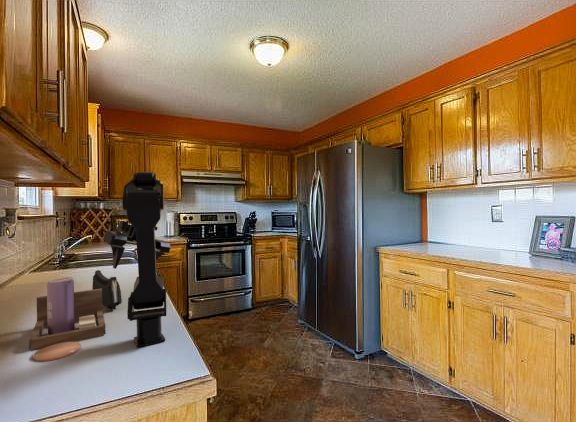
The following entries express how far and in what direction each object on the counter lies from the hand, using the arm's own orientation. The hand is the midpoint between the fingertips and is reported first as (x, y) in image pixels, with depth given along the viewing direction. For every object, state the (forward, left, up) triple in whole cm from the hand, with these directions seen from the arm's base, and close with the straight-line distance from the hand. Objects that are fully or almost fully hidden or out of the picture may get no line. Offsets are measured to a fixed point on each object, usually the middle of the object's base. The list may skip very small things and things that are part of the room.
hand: (129, 269), depth 94 cm
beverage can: (+1, +17, -16) cm, 23 cm away
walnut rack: (+1, +15, -16) cm, 22 cm away
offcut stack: (-1, +11, -16) cm, 19 cm away
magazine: (+29, +5, -16) cm, 33 cm away
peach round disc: (-13, +17, -16) cm, 26 cm away
